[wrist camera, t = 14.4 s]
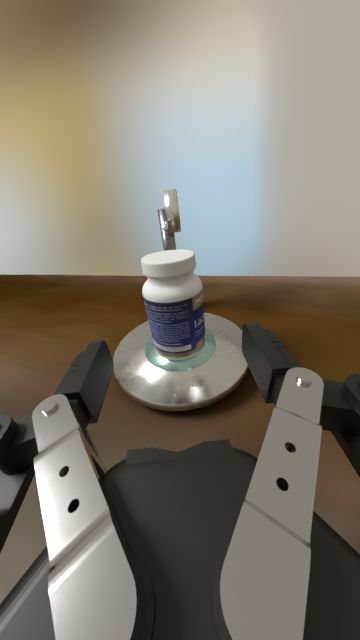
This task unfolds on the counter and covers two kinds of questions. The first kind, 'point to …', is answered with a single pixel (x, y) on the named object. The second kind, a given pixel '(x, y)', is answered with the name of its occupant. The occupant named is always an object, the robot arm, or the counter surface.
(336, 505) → the counter surface
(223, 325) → the dish
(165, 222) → the dial stand
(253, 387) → the counter surface
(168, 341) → the pill bottle
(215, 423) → the counter surface
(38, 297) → the counter surface
